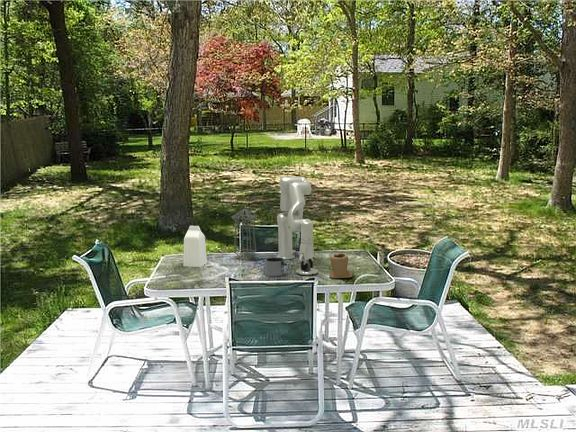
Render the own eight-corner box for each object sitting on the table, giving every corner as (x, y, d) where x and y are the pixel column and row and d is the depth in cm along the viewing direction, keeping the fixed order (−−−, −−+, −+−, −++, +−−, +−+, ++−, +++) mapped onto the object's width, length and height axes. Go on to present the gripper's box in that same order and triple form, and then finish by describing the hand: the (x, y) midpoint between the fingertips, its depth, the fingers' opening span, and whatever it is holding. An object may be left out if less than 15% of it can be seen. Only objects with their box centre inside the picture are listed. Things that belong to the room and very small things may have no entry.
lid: (303, 269, 353) (303, 259, 352) (322, 272, 346) (322, 261, 344) (291, 274, 342) (291, 263, 341) (310, 277, 335) (310, 266, 333)
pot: (269, 269, 353) (269, 256, 351) (291, 273, 343) (291, 259, 342) (258, 274, 343) (257, 259, 342) (280, 277, 334) (280, 263, 332)
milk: (183, 266, 364) (182, 227, 360) (190, 262, 375) (189, 224, 371) (200, 267, 361) (199, 227, 357) (207, 263, 372) (206, 224, 368)
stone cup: (330, 280, 327) (330, 255, 325) (328, 275, 339) (328, 251, 337) (355, 280, 327) (355, 255, 325) (353, 275, 339) (353, 251, 337)
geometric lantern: (230, 259, 380) (229, 209, 375) (239, 255, 395) (238, 206, 390) (252, 261, 376) (251, 210, 371) (260, 256, 391) (259, 207, 385)
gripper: (309, 238, 350) (309, 265, 353) (293, 242, 336) (294, 271, 339) (319, 239, 346) (319, 267, 348) (304, 244, 332) (304, 273, 334)
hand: (306, 268), depth 343 cm, fingers open, 7 cm apart
